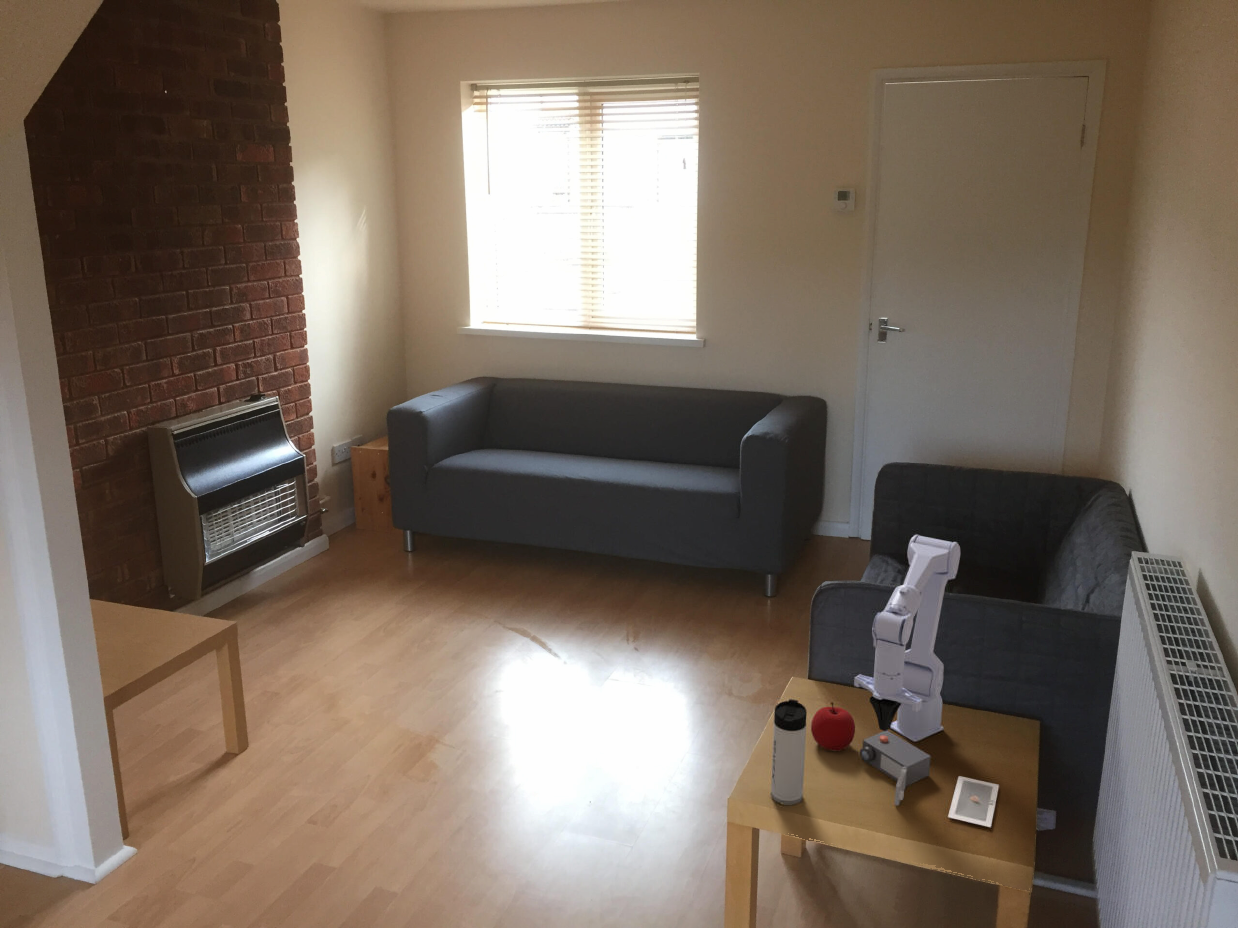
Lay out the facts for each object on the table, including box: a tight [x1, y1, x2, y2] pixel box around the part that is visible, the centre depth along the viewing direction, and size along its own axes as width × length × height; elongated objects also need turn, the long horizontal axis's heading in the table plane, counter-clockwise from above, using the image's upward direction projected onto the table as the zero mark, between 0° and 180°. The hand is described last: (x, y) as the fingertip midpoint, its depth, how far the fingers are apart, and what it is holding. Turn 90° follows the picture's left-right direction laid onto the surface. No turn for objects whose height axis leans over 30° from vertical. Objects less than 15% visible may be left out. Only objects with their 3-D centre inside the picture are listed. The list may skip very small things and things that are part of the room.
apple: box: [810, 701, 856, 752], centre depth 226 cm, size 9×9×10 cm
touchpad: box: [947, 775, 1000, 828], centre depth 208 cm, size 8×15×2 cm, turn 155°
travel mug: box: [770, 698, 808, 806], centre depth 207 cm, size 6×7×20 cm
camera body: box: [859, 730, 932, 787], centre depth 219 cm, size 9×12×5 cm
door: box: [893, 766, 907, 806], centre depth 209 cm, size 8×2×5 cm, turn 155°
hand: (884, 728), depth 215 cm, fingers closed
